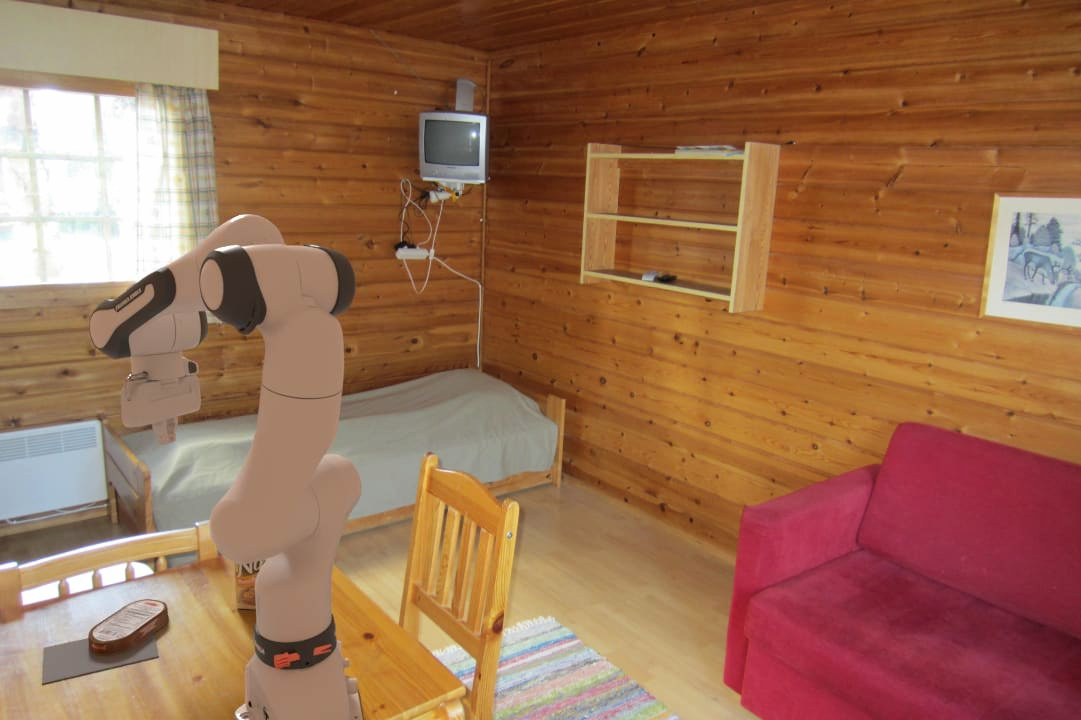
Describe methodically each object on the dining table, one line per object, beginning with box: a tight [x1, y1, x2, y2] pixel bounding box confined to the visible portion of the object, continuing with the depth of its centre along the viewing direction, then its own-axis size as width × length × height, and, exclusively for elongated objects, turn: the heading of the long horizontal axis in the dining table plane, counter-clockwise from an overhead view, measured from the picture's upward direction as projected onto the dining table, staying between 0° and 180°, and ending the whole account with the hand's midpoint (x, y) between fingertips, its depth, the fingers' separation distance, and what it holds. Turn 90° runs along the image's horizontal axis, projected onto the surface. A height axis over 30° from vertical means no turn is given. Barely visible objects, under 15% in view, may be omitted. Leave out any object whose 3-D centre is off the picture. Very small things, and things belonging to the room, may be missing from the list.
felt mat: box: [41, 632, 160, 685], centre depth 139 cm, size 11×17×1 cm, turn 120°
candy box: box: [234, 559, 267, 610], centre depth 154 cm, size 9×4×15 cm, turn 87°
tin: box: [87, 598, 170, 656], centre depth 144 cm, size 15×3×8 cm
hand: (167, 443), depth 151 cm, fingers closed
